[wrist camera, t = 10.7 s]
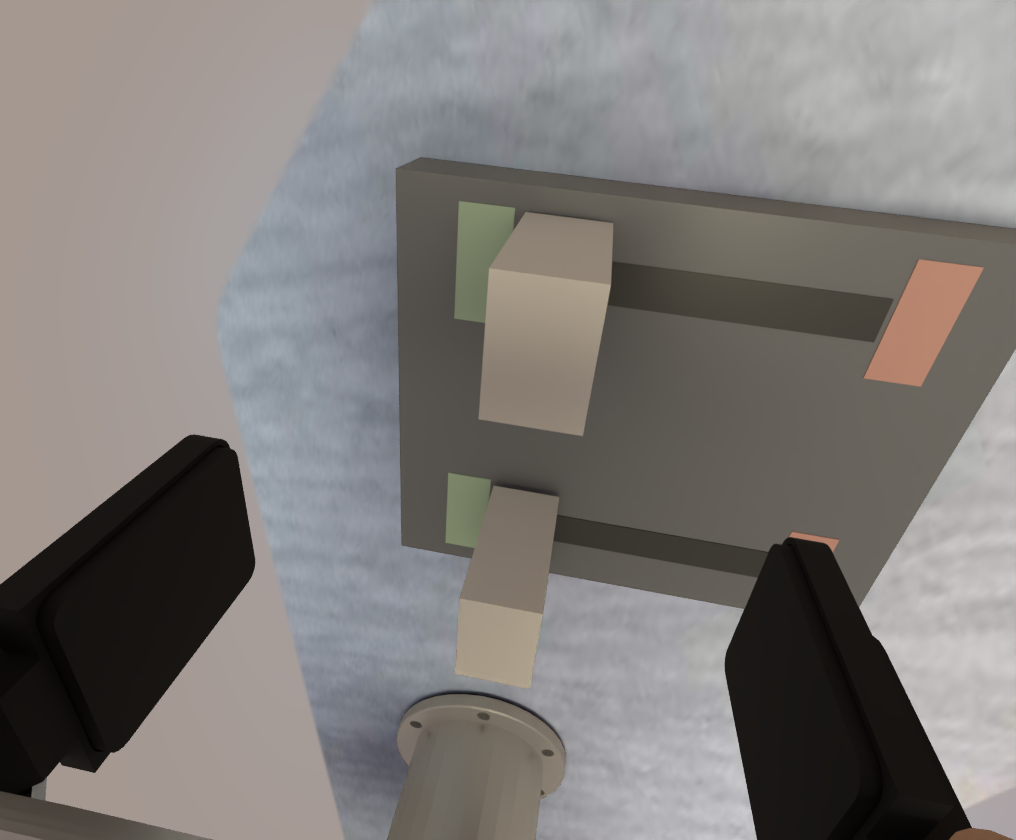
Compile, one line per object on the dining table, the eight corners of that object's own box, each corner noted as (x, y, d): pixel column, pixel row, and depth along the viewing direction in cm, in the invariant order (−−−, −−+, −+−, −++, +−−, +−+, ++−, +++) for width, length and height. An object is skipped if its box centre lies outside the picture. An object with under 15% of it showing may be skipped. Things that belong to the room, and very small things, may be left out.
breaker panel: (827, 580, 30) (846, 628, 28) (418, 507, 32) (401, 546, 30) (1018, 229, 21) (1075, 252, 18) (420, 157, 23) (395, 169, 20)
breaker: (547, 566, 28) (529, 689, 23) (487, 555, 28) (455, 673, 23) (559, 496, 26) (542, 614, 20) (493, 485, 26) (459, 598, 21)
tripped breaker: (592, 342, 22) (582, 435, 16) (514, 331, 22) (478, 419, 17) (613, 223, 20) (610, 284, 14) (525, 211, 20) (488, 268, 14)
